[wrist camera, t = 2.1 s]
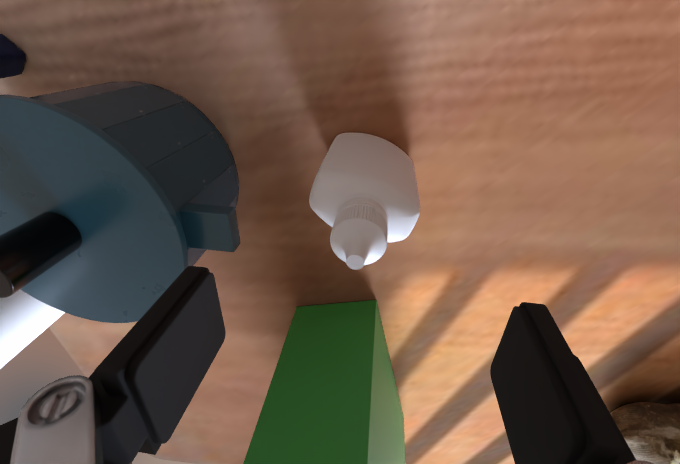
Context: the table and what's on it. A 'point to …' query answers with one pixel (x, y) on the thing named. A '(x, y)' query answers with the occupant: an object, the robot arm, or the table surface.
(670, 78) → the table surface
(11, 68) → the eraser
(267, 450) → the green and white box
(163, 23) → the table surface
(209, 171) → the pot
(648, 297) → the table surface
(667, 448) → the fossilized seashell
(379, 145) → the eye dropper bottle
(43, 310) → the white plastic bottle
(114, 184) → the pot lid
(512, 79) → the table surface
